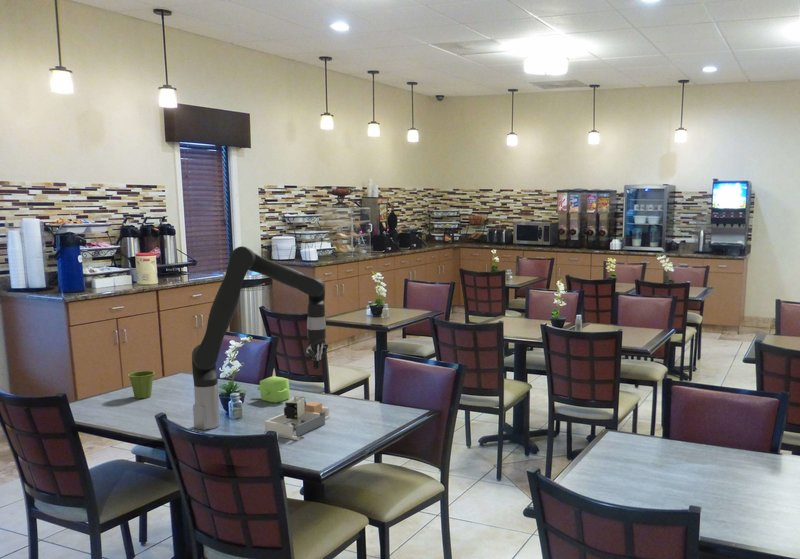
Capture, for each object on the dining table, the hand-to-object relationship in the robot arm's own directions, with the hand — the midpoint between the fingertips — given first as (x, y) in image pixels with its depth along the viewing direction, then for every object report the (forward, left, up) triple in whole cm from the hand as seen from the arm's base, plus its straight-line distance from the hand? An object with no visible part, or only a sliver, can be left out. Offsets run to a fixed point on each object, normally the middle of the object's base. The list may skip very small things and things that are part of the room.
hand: (316, 368), depth 282 cm
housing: (-12, -2, -21) cm, 24 cm away
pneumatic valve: (-16, -1, -20) cm, 25 cm away
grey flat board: (-16, -9, -20) cm, 27 cm away
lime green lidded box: (+13, +36, -21) cm, 44 cm away
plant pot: (-13, +94, -21) cm, 97 cm away
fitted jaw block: (-3, 0, -20) cm, 20 cm away
